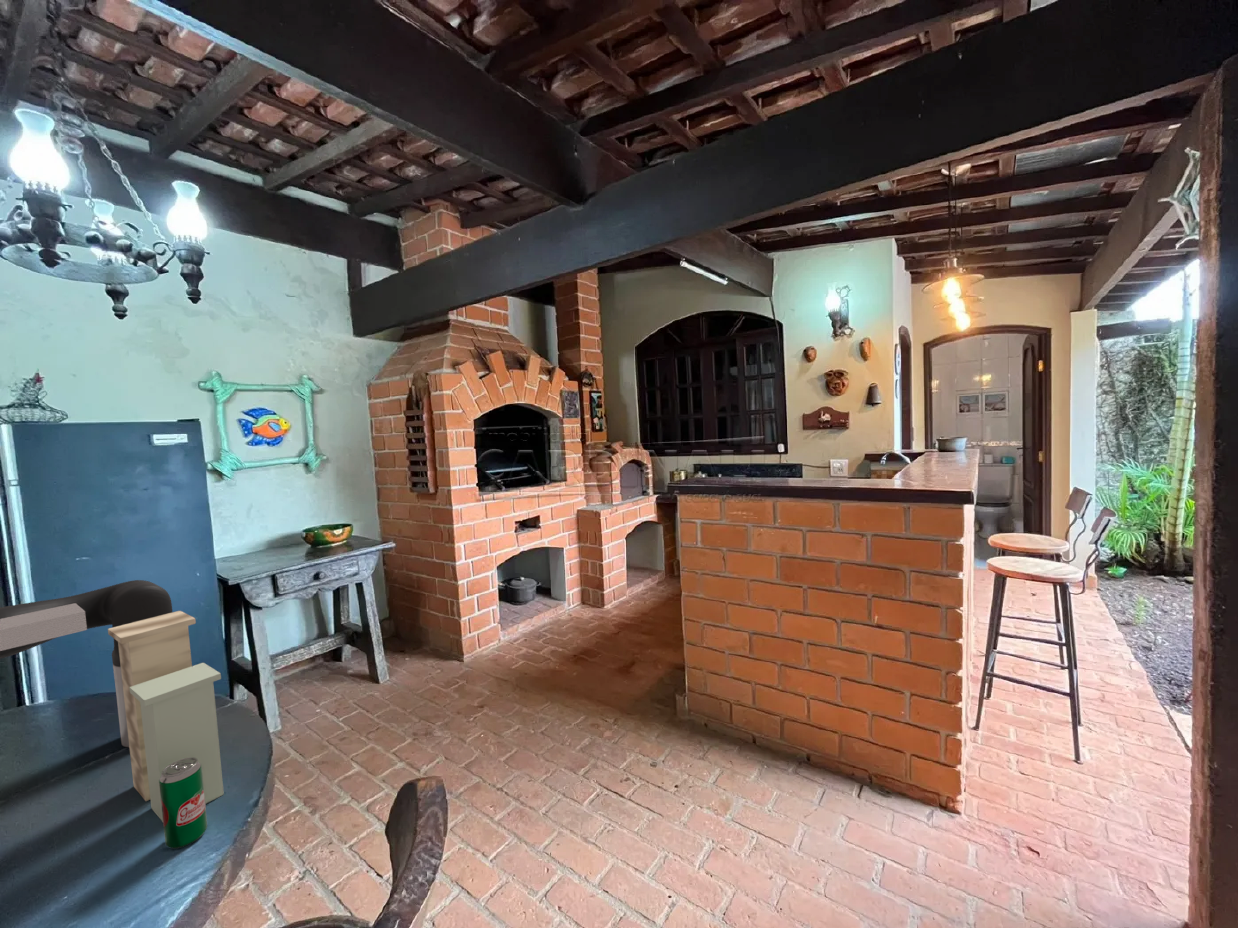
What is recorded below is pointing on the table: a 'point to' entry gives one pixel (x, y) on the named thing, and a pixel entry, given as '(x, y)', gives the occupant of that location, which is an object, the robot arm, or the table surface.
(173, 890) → the table surface
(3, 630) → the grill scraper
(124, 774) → the table surface
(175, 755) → the low stand
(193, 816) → the soda can
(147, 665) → the high stand
